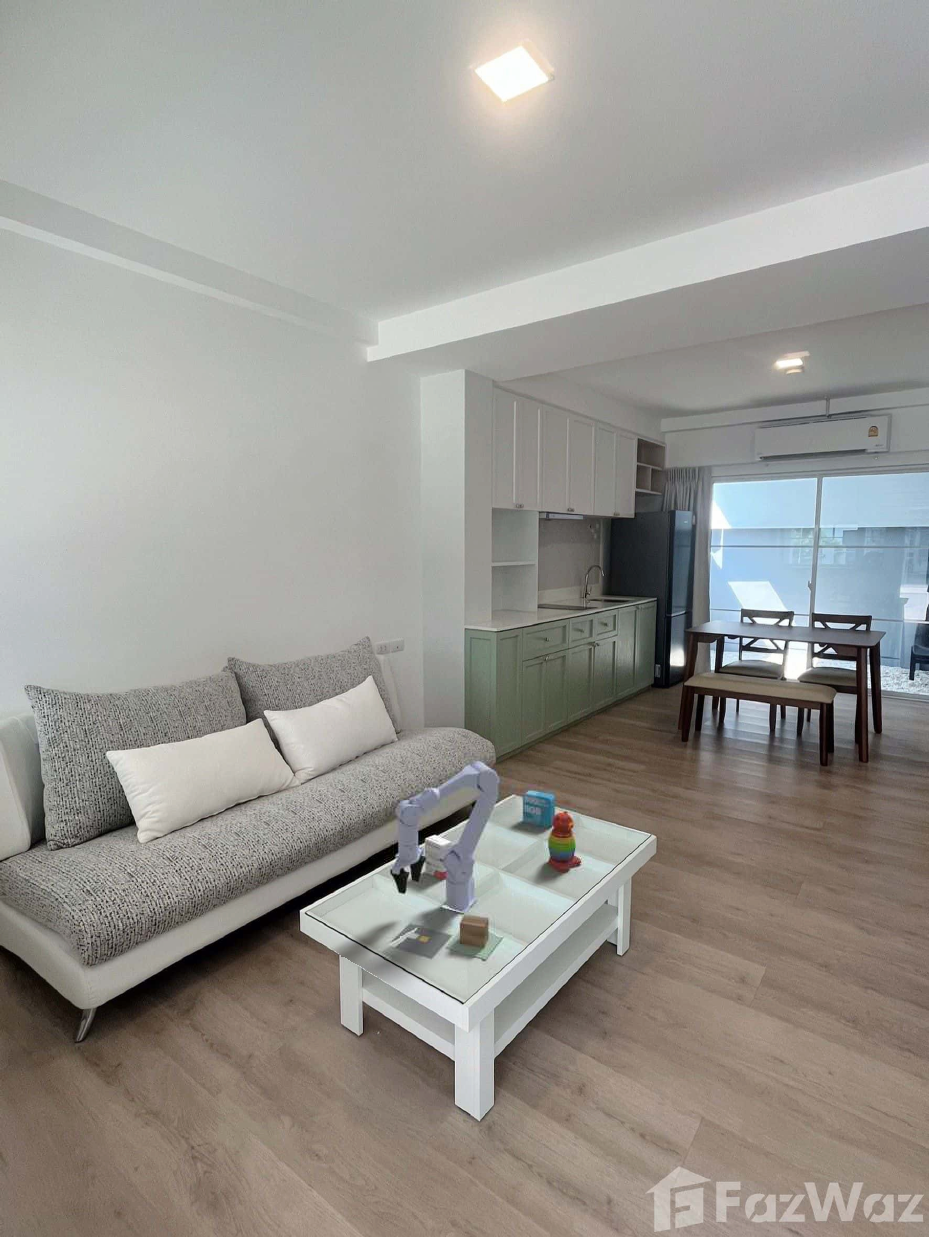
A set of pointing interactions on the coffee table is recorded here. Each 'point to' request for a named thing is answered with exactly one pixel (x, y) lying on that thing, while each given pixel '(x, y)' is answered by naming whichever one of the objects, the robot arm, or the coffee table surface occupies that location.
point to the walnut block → (474, 930)
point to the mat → (475, 947)
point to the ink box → (436, 855)
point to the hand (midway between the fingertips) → (408, 886)
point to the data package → (538, 808)
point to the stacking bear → (562, 843)
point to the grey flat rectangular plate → (422, 941)
